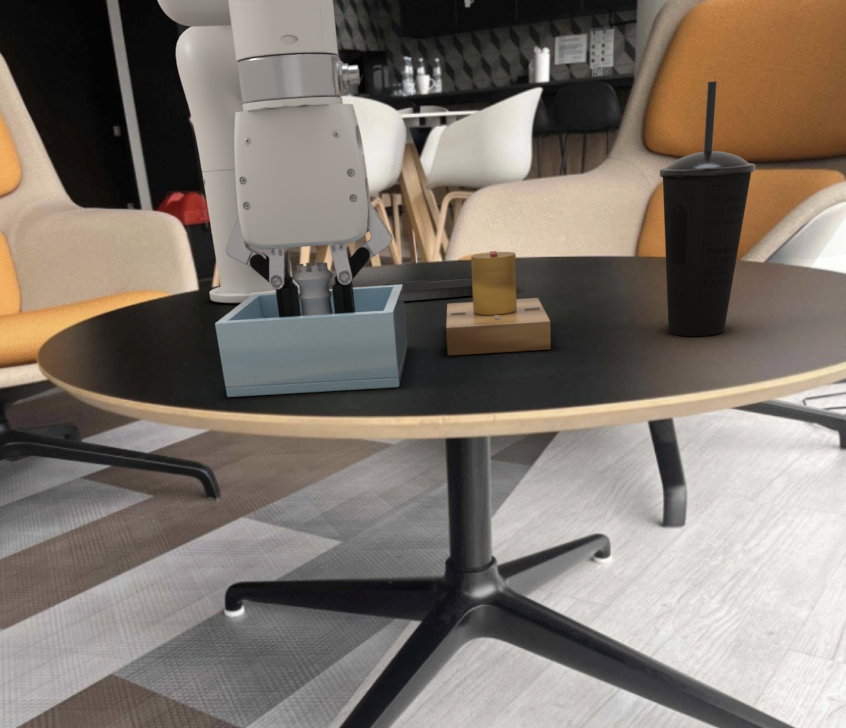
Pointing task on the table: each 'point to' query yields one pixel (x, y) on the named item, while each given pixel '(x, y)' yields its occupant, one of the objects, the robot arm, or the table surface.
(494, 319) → the panel
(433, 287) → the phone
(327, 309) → the rook chess piece
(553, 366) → the table surface
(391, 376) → the basin
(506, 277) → the red-marked tan cylinder
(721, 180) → the drinking cup
